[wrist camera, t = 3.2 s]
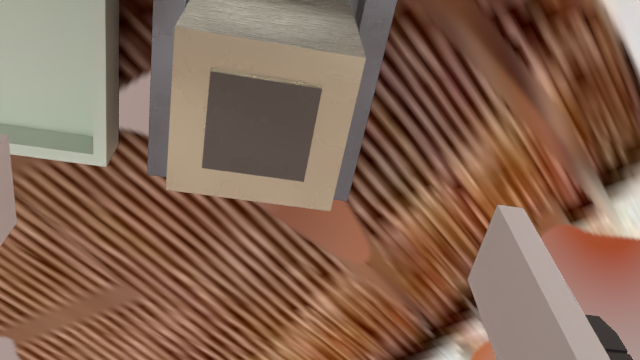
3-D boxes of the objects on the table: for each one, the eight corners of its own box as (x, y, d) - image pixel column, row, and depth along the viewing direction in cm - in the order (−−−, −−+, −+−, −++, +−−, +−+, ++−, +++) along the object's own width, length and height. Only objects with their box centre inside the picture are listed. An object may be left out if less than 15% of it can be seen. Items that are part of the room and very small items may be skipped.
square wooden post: (200, 89, 29) (164, 192, 21) (210, -37, 26) (173, 28, 18) (321, 108, 30) (330, 213, 22) (345, -13, 26) (366, 60, 19)
